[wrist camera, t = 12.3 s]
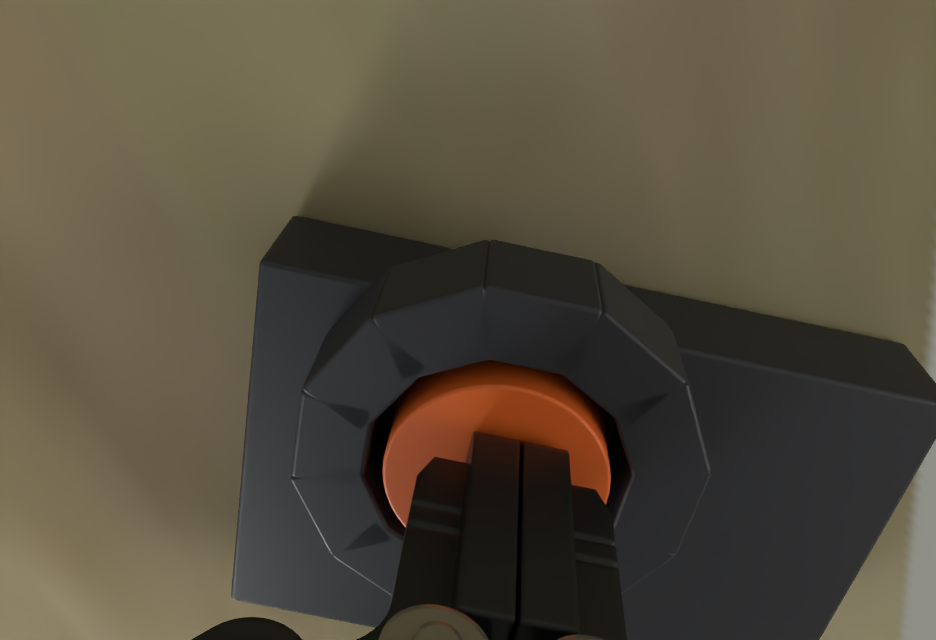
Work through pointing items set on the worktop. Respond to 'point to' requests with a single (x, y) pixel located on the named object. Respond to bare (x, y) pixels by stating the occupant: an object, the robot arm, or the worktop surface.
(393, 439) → the button
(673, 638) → the button box
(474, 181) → the worktop surface
